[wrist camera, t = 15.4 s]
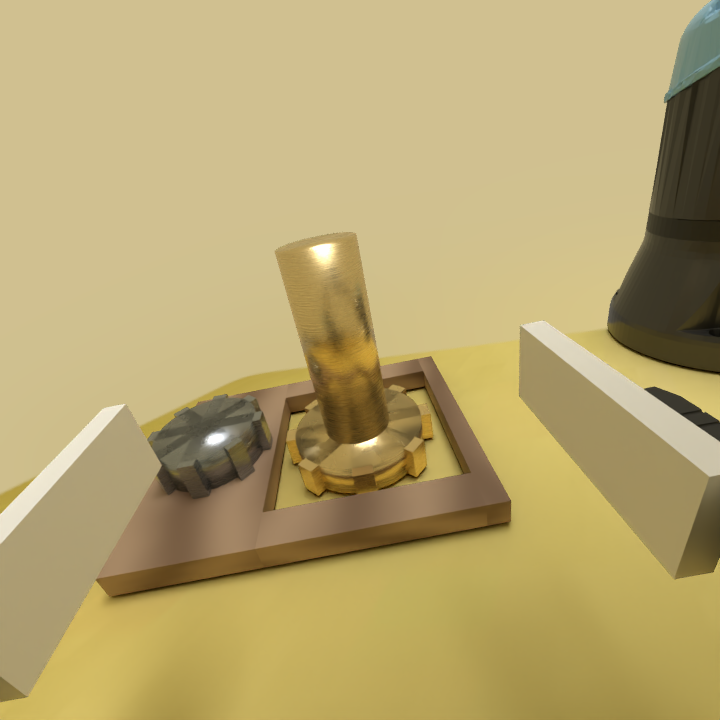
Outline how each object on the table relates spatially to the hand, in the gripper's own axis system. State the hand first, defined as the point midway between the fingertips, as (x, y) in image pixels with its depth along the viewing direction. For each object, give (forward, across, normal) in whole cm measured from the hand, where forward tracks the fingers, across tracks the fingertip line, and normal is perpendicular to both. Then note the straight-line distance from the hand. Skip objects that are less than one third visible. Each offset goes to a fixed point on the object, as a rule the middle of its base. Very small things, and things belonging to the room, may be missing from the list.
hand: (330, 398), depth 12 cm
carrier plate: (+10, -4, -10) cm, 15 cm away
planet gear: (+10, 0, -10) cm, 14 cm away
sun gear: (+10, -10, -9) cm, 17 cm away
